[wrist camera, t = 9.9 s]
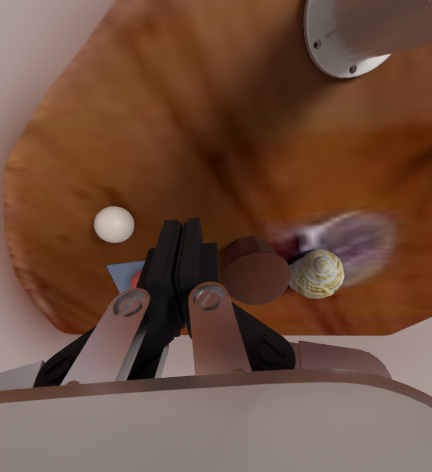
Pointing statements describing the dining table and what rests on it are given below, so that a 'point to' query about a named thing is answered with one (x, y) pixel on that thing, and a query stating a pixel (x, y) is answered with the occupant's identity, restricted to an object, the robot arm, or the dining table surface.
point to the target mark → (124, 273)
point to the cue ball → (114, 224)
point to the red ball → (135, 279)
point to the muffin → (255, 272)
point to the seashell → (316, 274)
